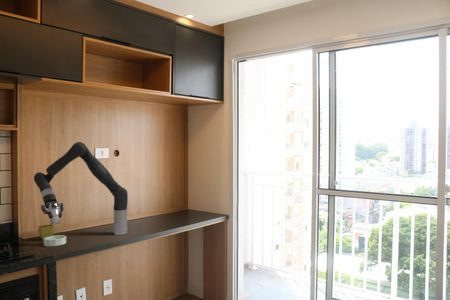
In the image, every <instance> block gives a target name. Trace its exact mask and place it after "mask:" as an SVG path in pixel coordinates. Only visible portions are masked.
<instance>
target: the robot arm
mask: <svg viewBox="0 0 450 300" xmlns="http://www.w3.org/2000/svg"><path fill="white" fill-rule="evenodd" d="M77 158H81V159H82V161H83V162H84V163H85V164H86V166H87V168H88V170H89V171H90V173H91V174H92V175H93V176H94V177H95V178H96V180H98V181H99V182H100V183H101V184H102V185H103V186H105V187H106V188H107V189H108V191H109V193H111V194H112V196H113V235H115V236H122V235H126V234H128V198H129V197H128V196H129V195H128V191H127V190H128V189H126V188H125V187H122V185H120V184H119V183H118V182H117V181H116V180H115V179H114V177H113V176H112V174H111V173H110V171H109V170H108V169H107V168H106V167H105V166H104V165H103V163H101V161H100V160H98V159H97V158H96V156H94V155H93V153H92V152H91V151H90V149H89V148H88V146H87V145H86V144H85V143H84V142H82V141H76V142H75V143H73V144H72V145H71V147H70V148H69V149H68V150H67V152H66V153H64V155H62V156H61V157H60V158H59V157H58V159H57V160H55V161H54V162H53V163H52V164H50V165H49V166H47V167H46V169H45V172H46V174H45V173H44V172H40V171H39V172H36V173H35V174H34V176H33V181H34V183H35V185H36V186H37V187H38V189H39V190H40V191H39V192H40V194H41V199H42V201H43V204H41V205H40V208H39V209H40V210H41V211H42V213H43V215H47V216H48V218H49V219H52V214H51V212H50V209H51V208H55V207H58V208H59V219H61V218H62V216H63V212H64V203H63V202H61V203H59V202H58V200H57V198H56V195H55V192H54V191H53V188H52V186H51V184H50V183H51V182H52V180H53V178H54V177H55V175H57V174H58V173H60V172H61V171H62V170H63V169H64V168H65V167H67V166H68V165H69V164H70V163H71V162H72V161H74V160H76V159H77Z"/></svg>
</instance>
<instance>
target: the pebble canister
mask: <svg viewBox="0 0 450 300" xmlns="http://www.w3.org/2000/svg"><path fill="white" fill-rule="evenodd" d="M58 207H59V206H58ZM58 207H55V208H51V209H50V212H51V214H52V219H50V218H49V219H50V223H49V225H50V224H52V225H58V224H60V218H59V208H60V207H59V208H58Z"/></svg>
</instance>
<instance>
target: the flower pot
mask: <svg viewBox="0 0 450 300" xmlns="http://www.w3.org/2000/svg"><path fill="white" fill-rule="evenodd" d="M37 230H38V234H39V237H40V239H41V240H42V241H44V238H45V237H49V236H54V234H55V233H54V232H55V224H50V223H49V224H44V225H38V226H37Z"/></svg>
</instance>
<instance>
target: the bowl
mask: <svg viewBox="0 0 450 300" xmlns="http://www.w3.org/2000/svg"><path fill="white" fill-rule="evenodd" d="M65 244H67V235H64V234H63V235H59V234H58V235H53V236H49V237H45V238H44V240H43V246H44V247H58V246H63V245H65Z"/></svg>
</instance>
